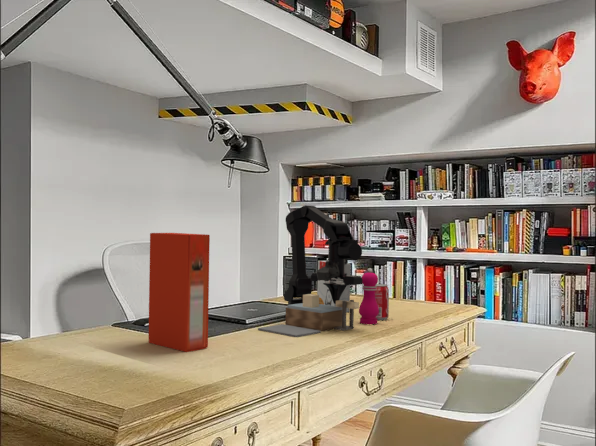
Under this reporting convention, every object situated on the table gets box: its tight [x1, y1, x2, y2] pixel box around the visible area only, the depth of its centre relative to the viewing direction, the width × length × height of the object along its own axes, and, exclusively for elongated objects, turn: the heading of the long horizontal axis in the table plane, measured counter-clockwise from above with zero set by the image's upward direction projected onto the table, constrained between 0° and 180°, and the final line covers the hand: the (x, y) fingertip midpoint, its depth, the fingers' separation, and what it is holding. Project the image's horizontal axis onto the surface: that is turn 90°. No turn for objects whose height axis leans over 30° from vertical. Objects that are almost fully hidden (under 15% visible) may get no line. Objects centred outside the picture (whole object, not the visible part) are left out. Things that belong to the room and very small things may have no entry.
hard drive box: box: [316, 260, 352, 313], centre depth 255 cm, size 16×8×20 cm, turn 25°
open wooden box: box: [284, 299, 355, 332], centre depth 214 cm, size 20×13×10 cm, turn 49°
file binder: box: [148, 232, 211, 353], centre depth 177 cm, size 8×17×32 cm, turn 48°
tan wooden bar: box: [336, 300, 360, 310], centre depth 211 cm, size 8×2×2 cm, turn 49°
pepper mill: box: [358, 267, 379, 325], centre depth 224 cm, size 7×7×20 cm
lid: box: [286, 293, 342, 313], centre depth 215 cm, size 15×11×6 cm
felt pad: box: [257, 323, 322, 338], centre depth 204 cm, size 17×12×1 cm
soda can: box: [375, 283, 390, 321], centre depth 234 cm, size 7×7×13 cm
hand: (335, 303), depth 214 cm, fingers closed
